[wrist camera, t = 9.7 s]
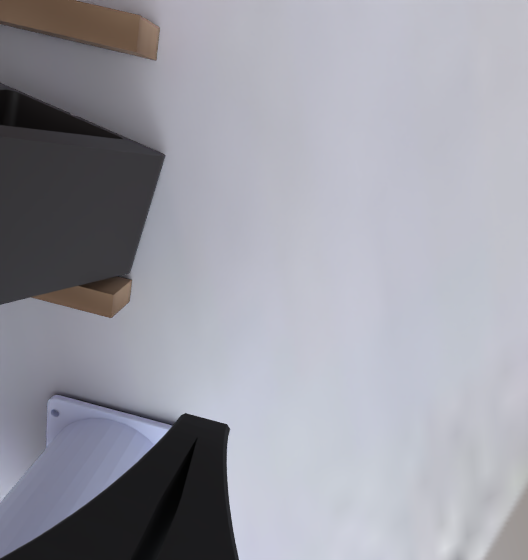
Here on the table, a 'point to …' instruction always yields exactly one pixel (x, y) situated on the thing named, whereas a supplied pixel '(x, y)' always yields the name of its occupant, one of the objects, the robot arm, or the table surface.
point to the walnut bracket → (105, 34)
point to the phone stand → (67, 198)
